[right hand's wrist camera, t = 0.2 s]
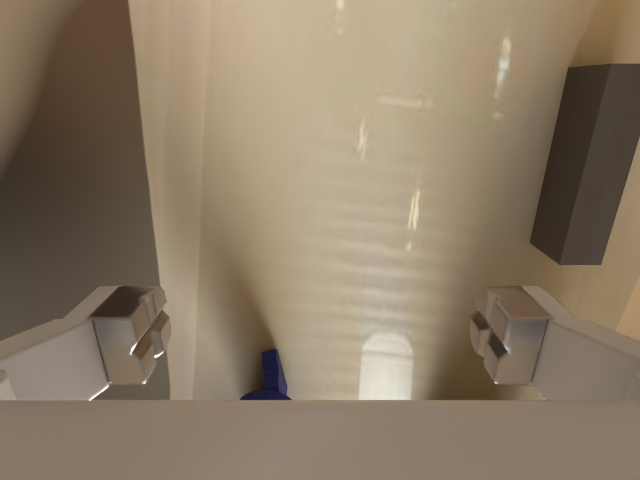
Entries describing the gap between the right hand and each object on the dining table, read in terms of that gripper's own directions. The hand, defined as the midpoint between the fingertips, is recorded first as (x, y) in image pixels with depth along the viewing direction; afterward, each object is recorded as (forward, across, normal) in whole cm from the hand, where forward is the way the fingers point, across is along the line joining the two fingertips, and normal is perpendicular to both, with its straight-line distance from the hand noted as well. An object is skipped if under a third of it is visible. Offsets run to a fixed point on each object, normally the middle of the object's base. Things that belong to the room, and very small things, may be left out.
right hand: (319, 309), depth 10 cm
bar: (+48, -36, +5) cm, 60 cm away
